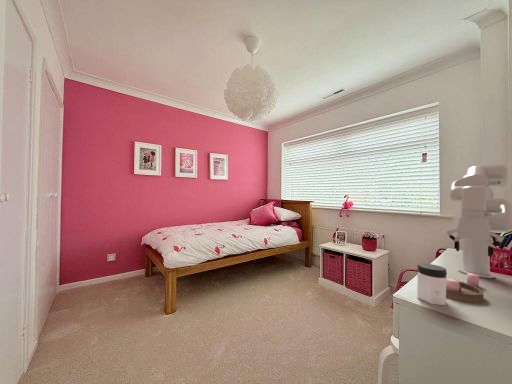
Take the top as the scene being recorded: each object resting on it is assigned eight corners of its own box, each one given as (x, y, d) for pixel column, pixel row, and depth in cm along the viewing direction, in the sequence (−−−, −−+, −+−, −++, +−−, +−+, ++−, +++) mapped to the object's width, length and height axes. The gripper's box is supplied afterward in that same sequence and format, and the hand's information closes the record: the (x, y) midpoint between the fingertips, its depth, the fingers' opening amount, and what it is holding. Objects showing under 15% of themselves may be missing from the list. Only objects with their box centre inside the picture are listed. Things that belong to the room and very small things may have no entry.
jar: (424, 303, 73) (425, 269, 73) (411, 293, 81) (411, 262, 81) (453, 306, 72) (454, 271, 72) (436, 295, 80) (437, 264, 80)
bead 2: (467, 282, 94) (467, 272, 94) (479, 285, 91) (479, 275, 91) (466, 284, 91) (466, 274, 91) (478, 287, 88) (478, 276, 89)
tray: (433, 281, 94) (433, 274, 94) (484, 294, 82) (484, 287, 82) (424, 290, 84) (424, 283, 84) (481, 307, 72) (481, 298, 72)
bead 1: (447, 289, 82) (447, 278, 83) (459, 293, 80) (459, 281, 80) (445, 292, 80) (445, 280, 80) (458, 295, 77) (458, 283, 77)
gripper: (504, 215, 87) (503, 256, 87) (448, 212, 100) (447, 247, 100) (503, 216, 82) (503, 259, 82) (445, 213, 96) (445, 250, 96)
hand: (472, 253), depth 91 cm, fingers open, 9 cm apart
